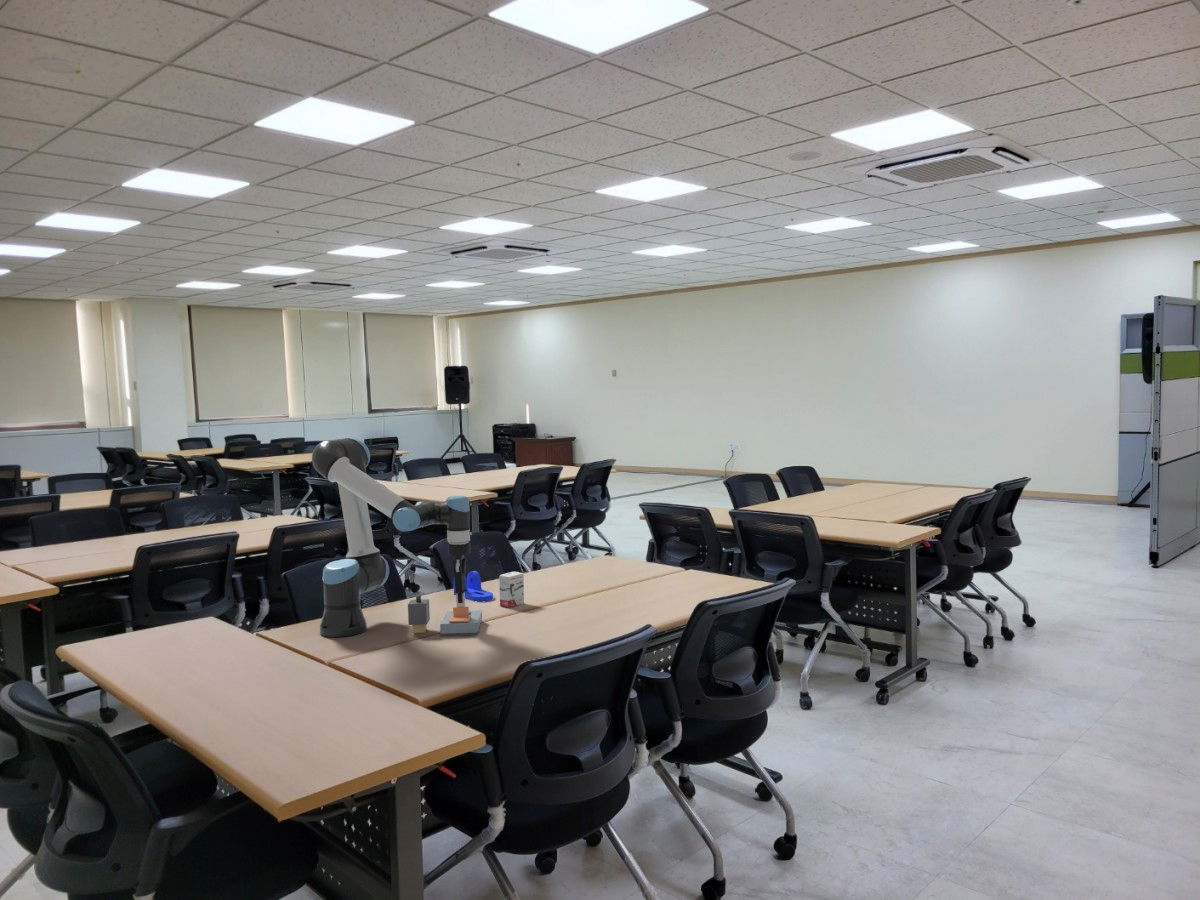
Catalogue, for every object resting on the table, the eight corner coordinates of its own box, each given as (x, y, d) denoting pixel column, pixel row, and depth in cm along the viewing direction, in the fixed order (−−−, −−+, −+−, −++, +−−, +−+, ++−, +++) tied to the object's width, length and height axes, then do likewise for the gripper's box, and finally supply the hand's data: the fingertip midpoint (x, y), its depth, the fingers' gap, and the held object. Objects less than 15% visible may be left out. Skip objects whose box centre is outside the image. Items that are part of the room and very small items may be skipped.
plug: (408, 633, 275) (407, 598, 274) (412, 628, 281) (410, 593, 280) (427, 633, 275) (425, 597, 274) (430, 628, 281) (428, 593, 280)
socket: (440, 636, 271) (440, 624, 271) (447, 622, 287) (447, 611, 287) (477, 634, 272) (477, 622, 272) (482, 621, 288) (481, 610, 287)
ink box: (509, 608, 305) (508, 576, 304) (499, 606, 308) (498, 575, 307) (524, 603, 312) (524, 572, 311) (515, 601, 315) (514, 571, 314)
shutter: (448, 622, 272) (448, 612, 272) (451, 617, 278) (451, 607, 278) (468, 621, 272) (468, 611, 272) (471, 616, 279) (470, 606, 278)
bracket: (453, 595, 328) (453, 573, 327) (471, 591, 333) (471, 569, 333) (479, 603, 314) (478, 579, 314) (497, 599, 320) (496, 576, 319)
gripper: (468, 545, 271) (470, 616, 273) (472, 538, 284) (474, 606, 286) (444, 546, 271) (447, 617, 273) (450, 539, 284) (452, 607, 286)
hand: (461, 611), depth 279 cm, fingers closed
